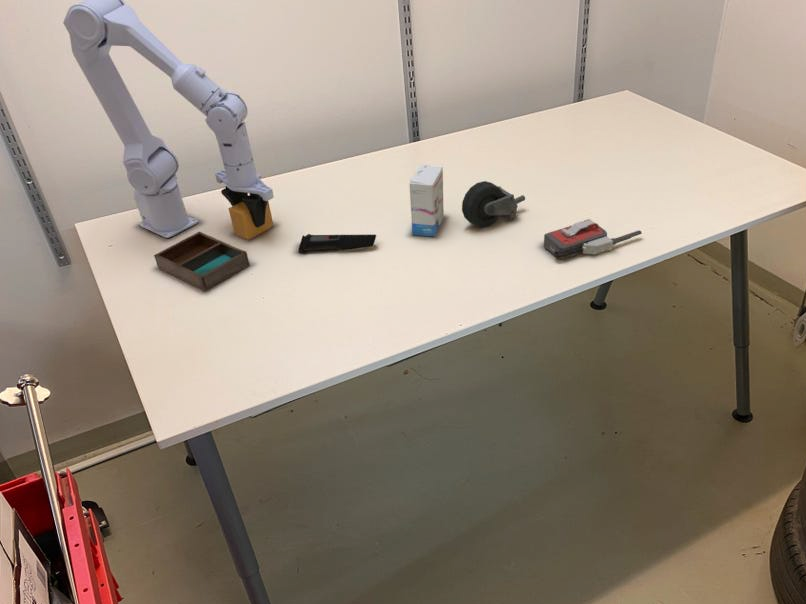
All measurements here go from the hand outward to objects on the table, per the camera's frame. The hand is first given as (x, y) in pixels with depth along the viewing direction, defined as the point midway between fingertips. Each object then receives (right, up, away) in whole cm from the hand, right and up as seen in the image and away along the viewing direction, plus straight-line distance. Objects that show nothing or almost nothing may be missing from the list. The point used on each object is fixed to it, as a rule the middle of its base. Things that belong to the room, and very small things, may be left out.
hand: (252, 222), depth 149 cm
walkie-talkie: (+69, -5, -4) cm, 69 cm away
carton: (0, -1, +1) cm, 2 cm away
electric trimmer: (+18, -6, -4) cm, 20 cm away
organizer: (-7, -10, -9) cm, 15 cm away
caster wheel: (+50, +1, +4) cm, 50 cm away
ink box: (+36, -1, +2) cm, 36 cm away
